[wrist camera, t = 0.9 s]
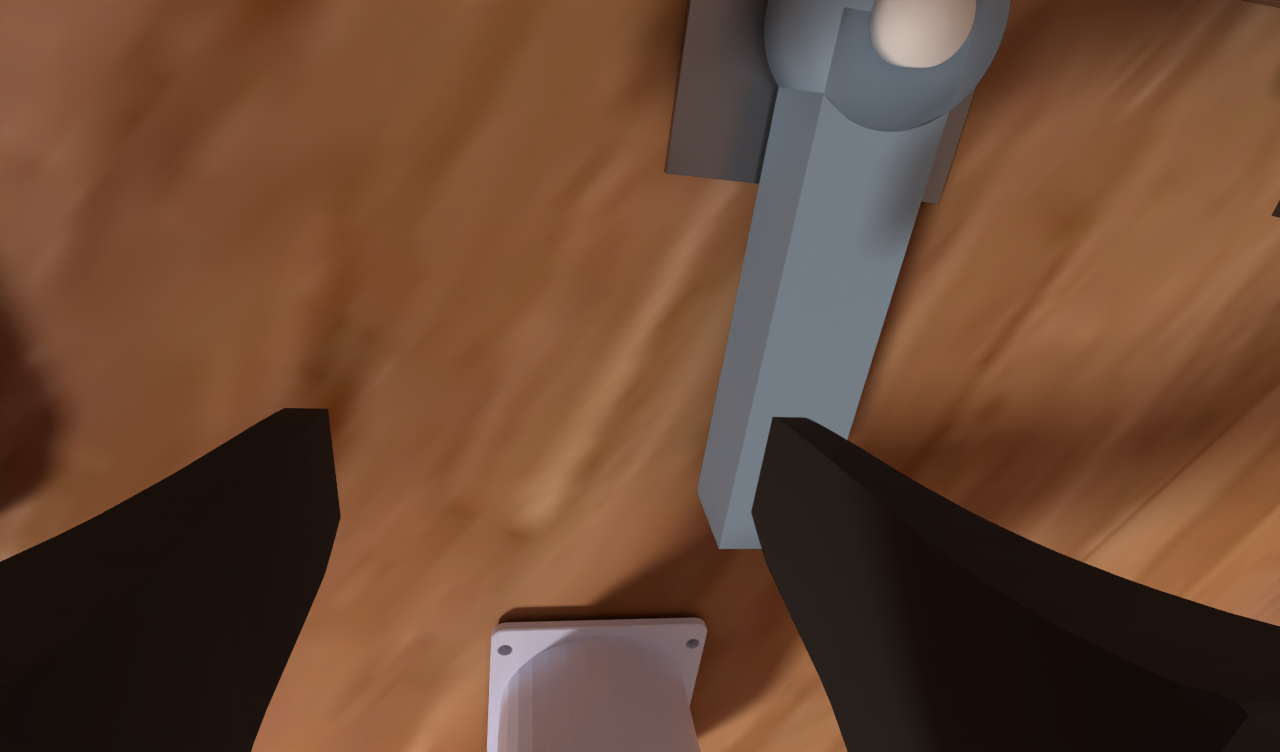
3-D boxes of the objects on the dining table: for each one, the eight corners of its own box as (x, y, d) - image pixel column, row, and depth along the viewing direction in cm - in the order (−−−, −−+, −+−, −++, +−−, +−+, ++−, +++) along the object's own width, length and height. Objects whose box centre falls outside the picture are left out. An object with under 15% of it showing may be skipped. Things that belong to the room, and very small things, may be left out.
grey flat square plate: (932, 201, 19) (938, 203, 18) (664, 171, 17) (665, 173, 17) (1041, -141, 15) (1050, -144, 15) (717, -217, 14) (722, -222, 13)
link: (787, -103, 14) (859, -147, 11) (960, -68, 15) (1075, -99, 12) (676, 491, 21) (702, 568, 18) (800, 493, 22) (846, 567, 19)
